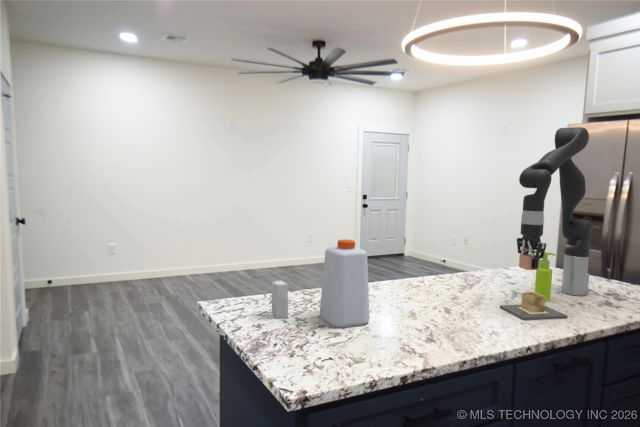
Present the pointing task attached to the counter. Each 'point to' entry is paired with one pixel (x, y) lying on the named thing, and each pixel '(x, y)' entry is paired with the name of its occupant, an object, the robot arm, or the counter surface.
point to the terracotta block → (527, 262)
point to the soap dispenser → (544, 278)
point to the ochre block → (533, 302)
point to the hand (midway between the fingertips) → (529, 267)
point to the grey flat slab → (528, 315)
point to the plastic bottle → (345, 286)
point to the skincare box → (279, 299)
